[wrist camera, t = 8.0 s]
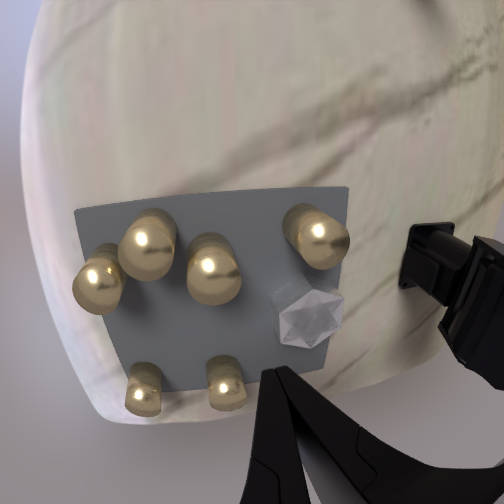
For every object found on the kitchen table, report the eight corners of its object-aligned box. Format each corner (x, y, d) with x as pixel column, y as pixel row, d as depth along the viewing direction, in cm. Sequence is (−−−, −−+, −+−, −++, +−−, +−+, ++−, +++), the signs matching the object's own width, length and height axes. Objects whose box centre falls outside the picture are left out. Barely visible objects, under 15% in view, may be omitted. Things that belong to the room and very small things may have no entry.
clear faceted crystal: (316, 261, 21) (330, 276, 19) (342, 300, 23) (355, 316, 21) (255, 306, 21) (262, 325, 19) (287, 339, 23) (296, 358, 21)
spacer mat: (345, 186, 19) (348, 188, 19) (321, 364, 27) (323, 368, 26) (76, 209, 16) (73, 211, 16) (135, 389, 23) (134, 393, 23)
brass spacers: (323, 195, 19) (353, 211, 15) (306, 362, 25) (321, 392, 22) (81, 217, 16) (56, 239, 12) (135, 383, 22) (131, 417, 19)
